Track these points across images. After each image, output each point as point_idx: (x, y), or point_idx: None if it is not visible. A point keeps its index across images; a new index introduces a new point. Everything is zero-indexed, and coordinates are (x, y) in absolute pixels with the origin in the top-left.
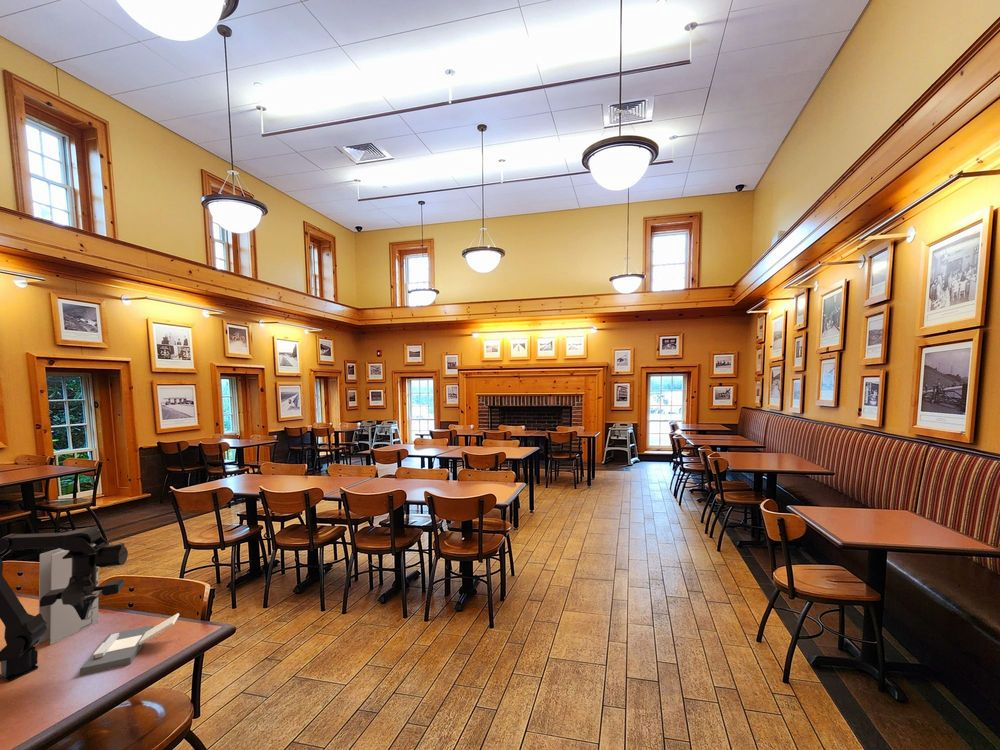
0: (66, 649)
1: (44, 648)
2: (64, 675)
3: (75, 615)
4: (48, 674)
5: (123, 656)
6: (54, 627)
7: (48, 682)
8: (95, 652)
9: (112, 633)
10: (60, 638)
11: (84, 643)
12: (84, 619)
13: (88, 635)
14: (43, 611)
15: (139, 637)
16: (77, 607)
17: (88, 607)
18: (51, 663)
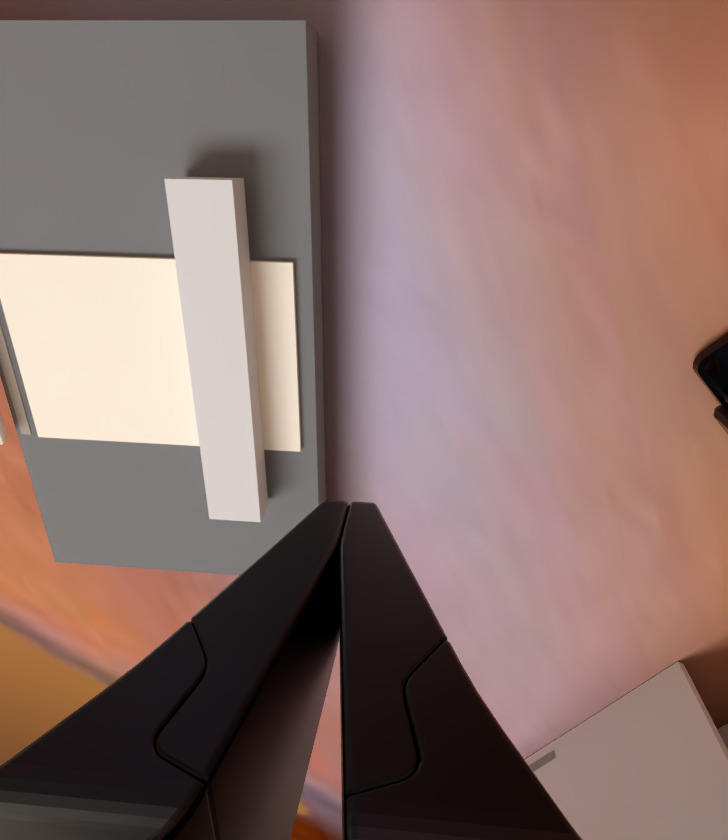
0: (565, 554)
1: (705, 634)
2: (453, 110)
3: None
4: (590, 209)
5: None
6: (712, 779)
7: (551, 33)
8: (289, 302)
9: None
10: (638, 698)
11: (473, 578)
12: (328, 502)
13: (482, 666)
14: None
15: (35, 400)
16: (421, 748)
17: (144, 665)
18: (613, 397)
